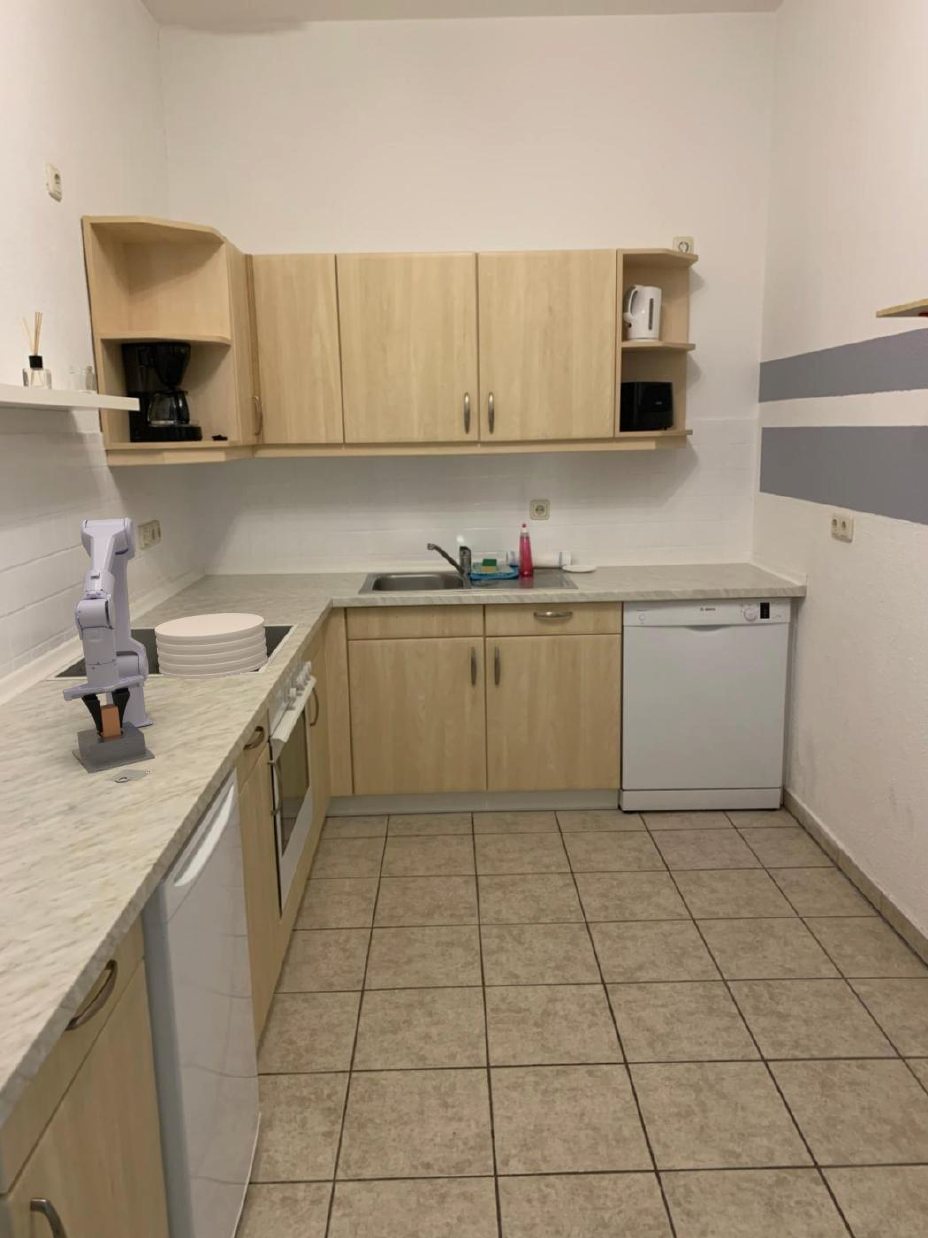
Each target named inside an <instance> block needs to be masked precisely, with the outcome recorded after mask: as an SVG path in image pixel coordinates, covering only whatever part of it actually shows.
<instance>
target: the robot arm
mask: <svg viewBox="0 0 928 1238" xmlns="http://www.w3.org/2000/svg"><path fill="white" fill-rule="evenodd" d="M135 534H136V533H135V527H134V523H133V520H132V519H130V517H124V518H110V519H92V520H88V519H84V520H83V521H82V522H81V524H80V539H81V543H82V546H83V548H84V549H85V551H86V553H87V555H88V556H89V558H90V570H89V571H87V572H86V573H85V574H84V576H83V579H82V580H83V581H82V587H81V597H80V601H79V603H78V602H76V603H75V605H74V620H75V624H76V625H75V626H76V628H77V632H78V637H79V640H80V641H81V642H82V650H83V657H84V664H85V665H84V666H85V673H86V680H87V683H84V684H80V685H77V686H72V687H68V688H64V689H62V693H63V700H64V701H65V702H71V701H73V700H75V699H76V700H77V699H81V701H82V702H83V704H84V705H85V706H86V708H87V709H88V711H89V714H91V717H92V719H93V722H94V724H95V728H97V731H98V732H99V733H100V732H103V725H102V720H101V711H100V706H101V700H100V699H99V697H98V696H97V695H103V694H105V703H106V705H107V704H112V703H114V704H115V705H116V706H117V707H118V714H119V722H120V728H122V725H123V723H124V722H128V721H130V722H131V723H132V724H133V725H134V726H135V727H137V728H140V727H145V726H149V725H153V724H154V722H153V720H152V719H150V718H149V717H148V716H147V710H146V709H147V708H146V703H145V693H144V687H146V686H145V681H147V679H148V678H149V661H148V656H147V649H146V647H145V645H144V644H143V643H141V642H140V641H138V640H136V639H135V638H133V637H132V630H131V615H130V602H129V600H130V599H129V589H128V586H129V585H128V573H127V569H128V562H129V561H130V560H132V559H133V558H135V557H136V549H137V548H136V547H137V546H136V535H135ZM125 652H132V653H125ZM133 652H134V653H133ZM117 653H119V654H117Z"/></svg>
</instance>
